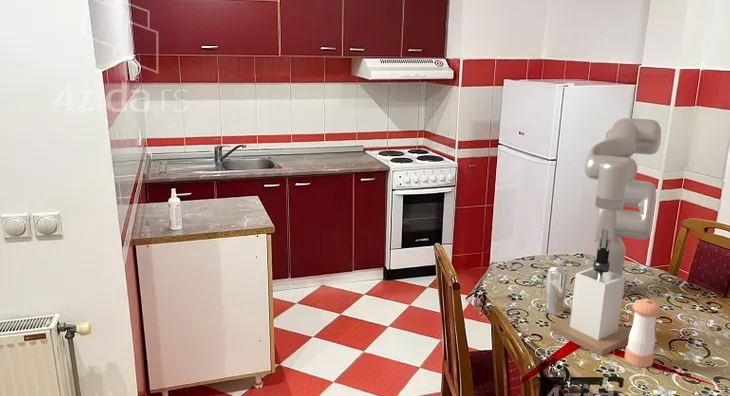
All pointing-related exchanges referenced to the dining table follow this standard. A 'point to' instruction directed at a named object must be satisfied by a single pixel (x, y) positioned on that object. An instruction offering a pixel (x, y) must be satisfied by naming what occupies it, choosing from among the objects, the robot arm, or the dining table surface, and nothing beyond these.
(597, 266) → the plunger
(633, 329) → the salt shaker
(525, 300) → the dining table surface
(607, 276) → the white pen holder
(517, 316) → the dining table surface
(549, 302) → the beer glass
